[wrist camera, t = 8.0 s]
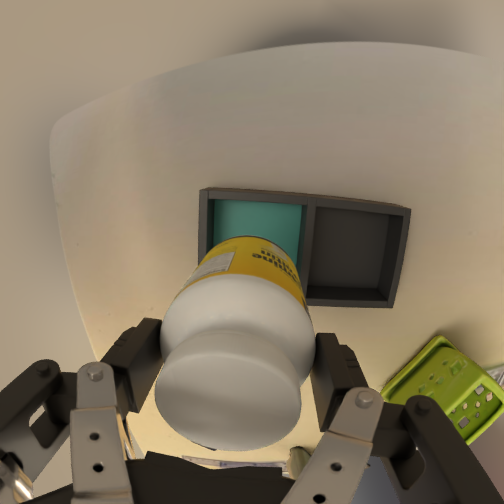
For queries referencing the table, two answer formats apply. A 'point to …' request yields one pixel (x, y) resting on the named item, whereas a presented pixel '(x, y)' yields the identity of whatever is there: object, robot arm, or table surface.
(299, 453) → the cream tall rounded block
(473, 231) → the table surface
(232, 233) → the dark grey divided tray
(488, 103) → the table surface
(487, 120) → the table surface
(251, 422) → the pill bottle
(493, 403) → the flower pot
